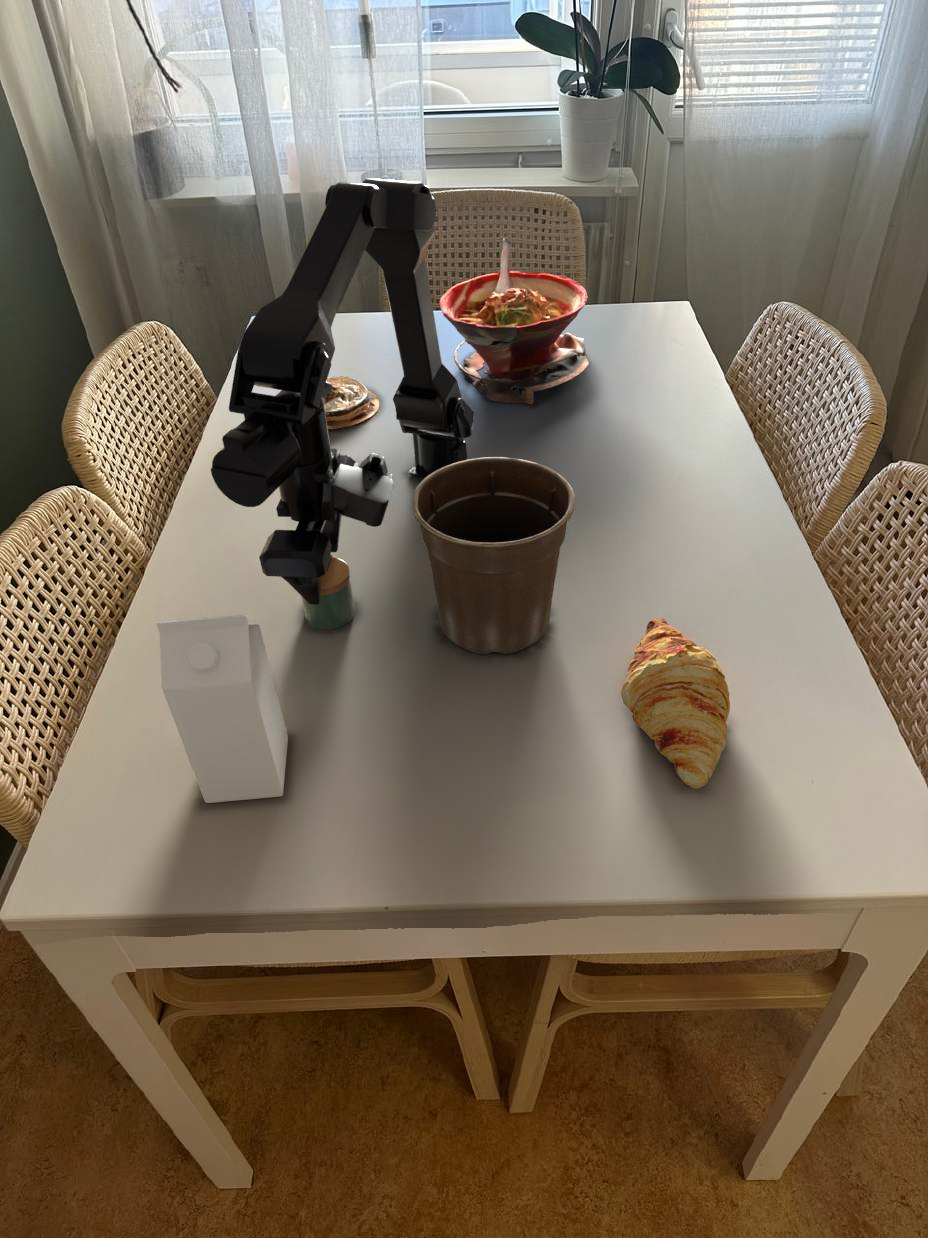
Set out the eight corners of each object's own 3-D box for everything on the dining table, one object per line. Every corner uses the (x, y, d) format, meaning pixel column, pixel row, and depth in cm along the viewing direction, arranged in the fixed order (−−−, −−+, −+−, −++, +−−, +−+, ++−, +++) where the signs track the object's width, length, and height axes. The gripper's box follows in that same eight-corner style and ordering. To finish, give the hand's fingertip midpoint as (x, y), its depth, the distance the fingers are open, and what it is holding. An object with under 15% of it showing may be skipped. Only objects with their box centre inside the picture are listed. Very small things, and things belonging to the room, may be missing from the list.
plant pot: (477, 558, 106) (473, 440, 95) (594, 604, 99) (604, 482, 88) (393, 633, 96) (378, 511, 86) (516, 691, 89) (517, 565, 78)
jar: (294, 620, 98) (285, 579, 95) (325, 591, 102) (317, 550, 98) (335, 636, 96) (327, 595, 92) (365, 606, 100) (359, 565, 96)
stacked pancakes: (370, 379, 143) (368, 355, 141) (386, 422, 132) (384, 397, 130) (280, 392, 141) (275, 368, 138) (288, 437, 130) (284, 411, 127)
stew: (457, 329, 158) (453, 236, 147) (591, 332, 154) (597, 237, 144) (431, 402, 137) (424, 300, 126) (585, 407, 134) (592, 303, 123)
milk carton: (215, 745, 85) (164, 594, 72) (288, 738, 85) (250, 587, 73) (205, 804, 79) (147, 653, 67) (283, 797, 80) (241, 645, 67)
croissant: (722, 818, 80) (779, 769, 76) (630, 792, 77) (684, 738, 72) (673, 656, 96) (718, 607, 91) (596, 629, 93) (637, 576, 88)
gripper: (365, 507, 78) (382, 636, 88) (397, 407, 92) (408, 529, 102) (243, 504, 79) (274, 632, 89) (293, 405, 93) (315, 526, 103)
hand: (324, 576), depth 96 cm, fingers open, 9 cm apart
